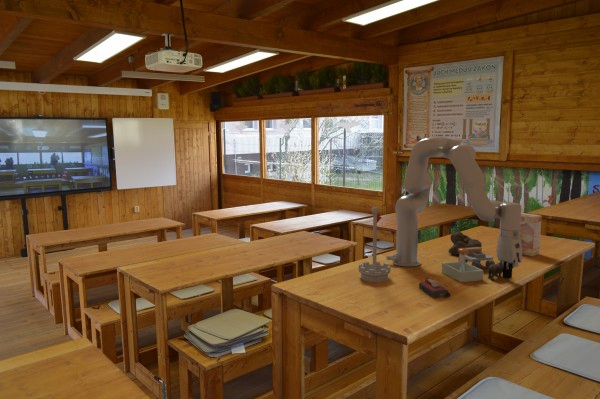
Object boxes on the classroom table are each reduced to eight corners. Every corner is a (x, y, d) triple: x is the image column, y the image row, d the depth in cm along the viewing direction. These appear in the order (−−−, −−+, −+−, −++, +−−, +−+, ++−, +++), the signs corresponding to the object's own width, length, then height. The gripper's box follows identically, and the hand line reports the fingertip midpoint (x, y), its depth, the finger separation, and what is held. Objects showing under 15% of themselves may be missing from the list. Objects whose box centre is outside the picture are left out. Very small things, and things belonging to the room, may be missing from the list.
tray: (460, 282, 188) (461, 272, 188) (441, 272, 202) (441, 263, 201) (482, 280, 191) (483, 270, 190) (462, 270, 204) (462, 261, 204)
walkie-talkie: (455, 298, 171) (429, 281, 191) (456, 286, 171) (429, 271, 190) (433, 300, 170) (409, 283, 189) (434, 288, 169) (409, 272, 188)
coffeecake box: (503, 250, 238) (505, 212, 235) (510, 248, 242) (512, 211, 239) (532, 256, 226) (535, 216, 223) (539, 254, 230) (542, 215, 227)
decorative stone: (480, 247, 220) (450, 233, 226) (470, 267, 224) (441, 252, 230) (485, 239, 234) (456, 225, 240) (475, 257, 238) (447, 243, 244)
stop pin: (460, 276, 194) (461, 250, 192) (455, 273, 197) (456, 248, 196) (467, 275, 195) (469, 249, 193) (462, 273, 198) (464, 247, 197)
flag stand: (379, 285, 186) (380, 210, 182) (352, 278, 194) (352, 207, 190) (396, 277, 196) (397, 206, 191) (369, 271, 204) (370, 203, 200)
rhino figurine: (510, 274, 198) (511, 260, 197) (494, 281, 190) (495, 266, 189) (501, 272, 201) (501, 258, 201) (484, 278, 193) (485, 264, 192)
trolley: (474, 272, 201) (475, 254, 200) (456, 263, 215) (457, 246, 214) (497, 270, 204) (497, 252, 203) (477, 261, 217) (478, 245, 216)
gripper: (531, 236, 181) (528, 282, 183) (505, 229, 195) (502, 271, 198) (514, 238, 179) (511, 284, 182) (489, 230, 193) (487, 273, 196)
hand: (507, 277), depth 190 cm, fingers closed
